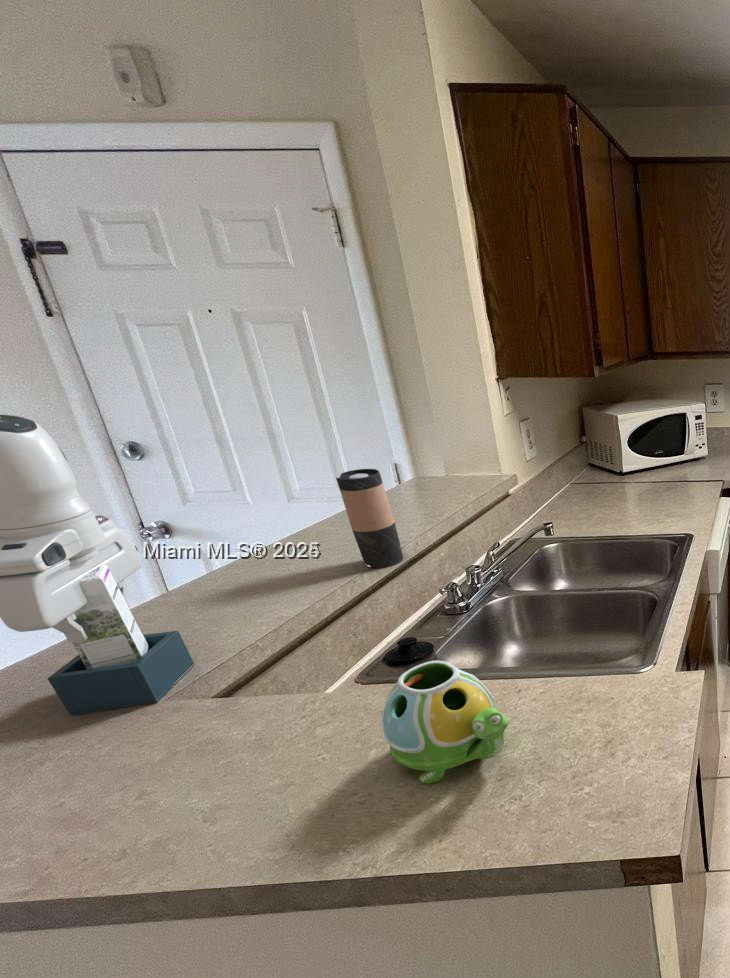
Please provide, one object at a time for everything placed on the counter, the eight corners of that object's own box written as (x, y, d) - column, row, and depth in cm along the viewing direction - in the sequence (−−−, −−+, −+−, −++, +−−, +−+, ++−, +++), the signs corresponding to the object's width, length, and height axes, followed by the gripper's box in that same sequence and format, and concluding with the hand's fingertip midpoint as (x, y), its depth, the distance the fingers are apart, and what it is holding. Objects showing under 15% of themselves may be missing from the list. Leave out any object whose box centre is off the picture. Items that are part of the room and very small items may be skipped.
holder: (69, 715, 87) (46, 678, 84) (116, 675, 95) (97, 640, 93) (157, 702, 90) (137, 666, 87) (195, 664, 98) (178, 630, 96)
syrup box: (150, 645, 94) (106, 561, 88) (145, 663, 90) (100, 575, 84) (96, 659, 91) (48, 572, 85) (89, 677, 87) (38, 587, 81)
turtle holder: (468, 811, 72) (444, 732, 67) (372, 762, 79) (345, 687, 74) (549, 745, 82) (533, 672, 77) (458, 706, 89) (438, 637, 84)
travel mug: (412, 559, 135) (387, 472, 126) (375, 572, 129) (347, 481, 120) (393, 551, 138) (367, 466, 130) (356, 564, 132) (327, 475, 124)
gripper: (79, 513, 90) (121, 595, 96) (-45, 572, 73) (16, 668, 78) (132, 508, 92) (171, 589, 98) (24, 565, 74) (79, 660, 80)
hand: (101, 625), depth 88 cm, fingers closed on syrup box, 7 cm apart
